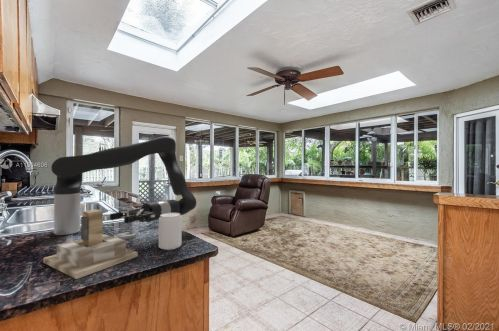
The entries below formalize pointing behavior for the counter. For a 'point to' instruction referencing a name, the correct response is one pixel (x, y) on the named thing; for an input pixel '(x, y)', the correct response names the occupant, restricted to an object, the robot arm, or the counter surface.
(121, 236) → the adjustable wrench
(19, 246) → the counter surface
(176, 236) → the beverage can
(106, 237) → the wooden socket base
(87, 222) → the tan long rectangular block
